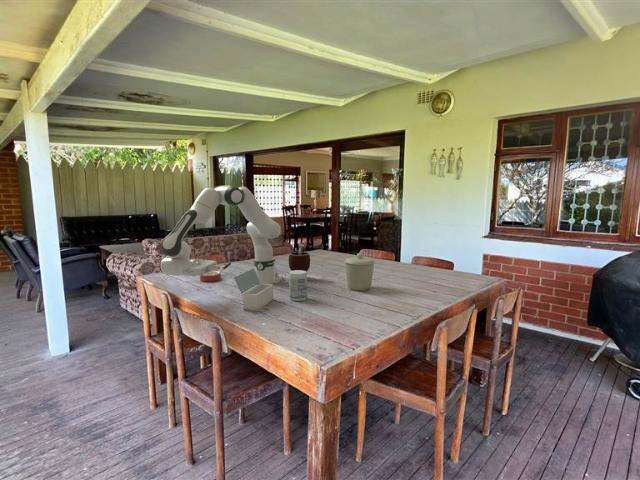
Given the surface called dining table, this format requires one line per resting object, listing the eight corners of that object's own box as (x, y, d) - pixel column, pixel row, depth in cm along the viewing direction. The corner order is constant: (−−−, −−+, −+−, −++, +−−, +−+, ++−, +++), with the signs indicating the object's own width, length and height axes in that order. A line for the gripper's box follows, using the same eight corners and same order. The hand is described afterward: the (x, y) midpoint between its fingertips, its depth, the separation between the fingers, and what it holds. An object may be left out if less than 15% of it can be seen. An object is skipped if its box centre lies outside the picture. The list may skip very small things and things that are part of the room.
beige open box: (261, 298, 193) (260, 283, 192) (273, 299, 191) (273, 284, 190) (243, 310, 174) (243, 294, 173) (257, 311, 172) (256, 295, 171)
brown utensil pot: (309, 282, 226) (309, 250, 224) (287, 282, 227) (287, 250, 224) (310, 276, 242) (310, 246, 239) (290, 276, 242) (289, 246, 239)
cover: (260, 282, 192) (259, 283, 192) (254, 268, 192) (252, 268, 192) (242, 293, 173) (241, 293, 173) (235, 276, 173) (233, 277, 173)
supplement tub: (300, 302, 185) (300, 274, 183) (285, 300, 190) (285, 272, 188) (310, 297, 194) (310, 271, 192) (295, 295, 198) (295, 269, 196)
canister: (373, 293, 201) (374, 256, 199) (341, 291, 205) (342, 255, 202) (375, 285, 219) (376, 251, 216) (345, 283, 223) (346, 250, 220)
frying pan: (218, 270, 259) (218, 262, 258) (235, 271, 257) (235, 262, 256) (196, 282, 228) (195, 272, 227) (215, 282, 225) (215, 272, 224)
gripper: (182, 265, 173) (210, 266, 171) (200, 257, 193) (225, 258, 192) (183, 278, 173) (211, 279, 172) (201, 269, 194) (226, 270, 192)
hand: (218, 268), depth 182 cm, fingers closed
